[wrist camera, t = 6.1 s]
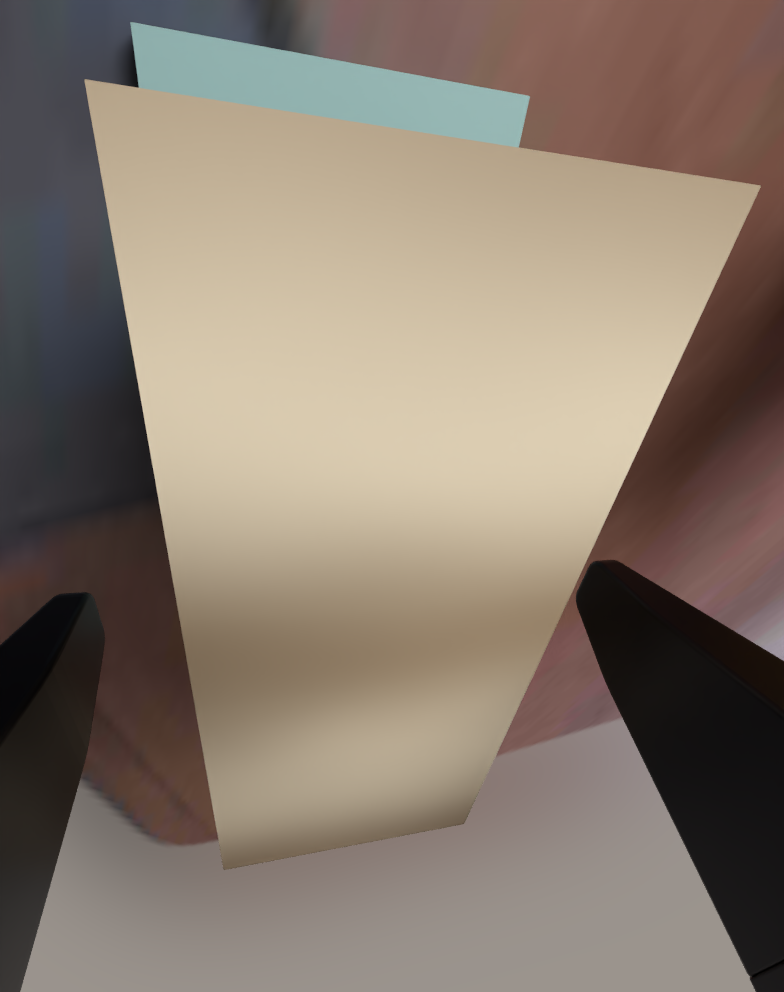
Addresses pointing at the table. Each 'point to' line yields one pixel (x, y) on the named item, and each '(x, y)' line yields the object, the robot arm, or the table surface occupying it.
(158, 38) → the peg stand
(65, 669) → the robot arm
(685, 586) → the table surface
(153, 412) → the board
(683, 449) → the table surface
